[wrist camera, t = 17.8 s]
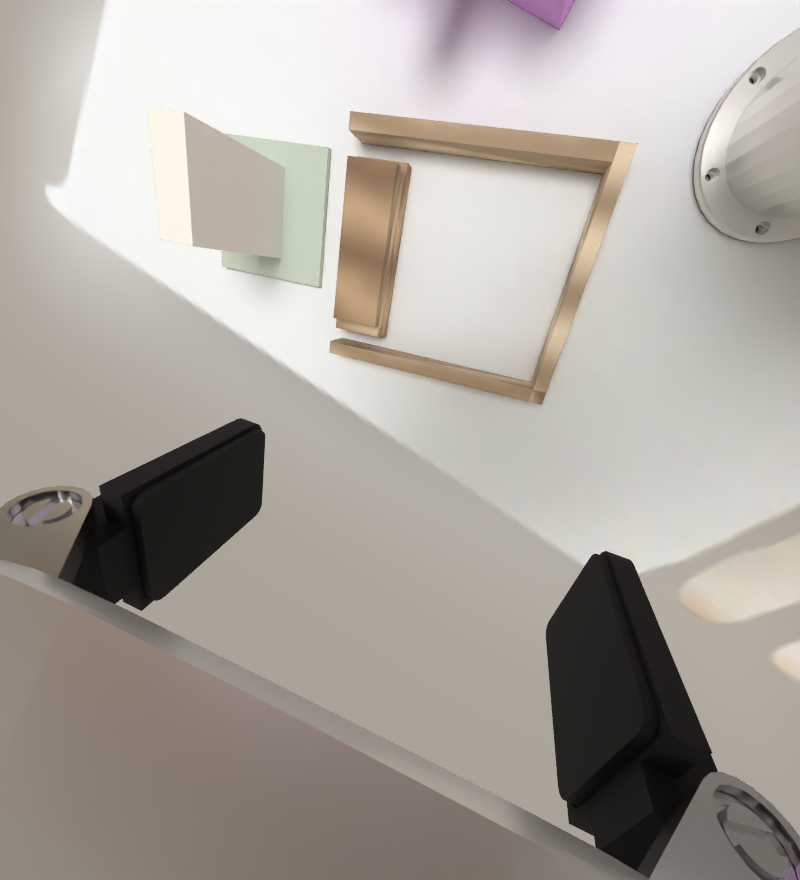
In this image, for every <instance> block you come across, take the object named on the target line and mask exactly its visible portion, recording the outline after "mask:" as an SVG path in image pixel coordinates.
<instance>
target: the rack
mask: <svg viewBox="0 0 800 880" xmlns="http://www.w3.org/2000/svg"><path fill="white" fill-rule="evenodd" d="M349 130H350V131H351V132H352V133H353V134H354V135H355V136H356V138H357V139H358V140H359V141H360V142H361V143H366V144H374V145H382V146H390V147H397V148H405V149H413V150H421V151H429V152H436V153H444V154H452V155H460V156H467V157H475V158H483V159H491V160H499V161H506V162H514V163H522V164H530V165H538V166H545V167H553V168H561V169H569V170H576V171H584V172H592V173H600V174H603V175H602V178H601V181H600V184H599V187H598V190H597V193H596V196H595V199H594V202H593V204H592V207H591V210H590V213H589V216H588V219H587V222H586V225H585V228H584V231H583V234H582V236H581V239H580V242H579V245H578V248H577V251H576V254H575V257H574V260H573V263H572V265H571V268H570V271H569V274H568V277H567V280H566V283H565V286H564V289H563V292H562V294H561V297H560V300H559V303H558V306H557V309H556V312H555V315H554V318H553V321H552V323H551V326H550V329H549V332H548V335H547V338H546V341H545V344H544V347H543V350H542V352H541V355H540V358H539V361H538V364H537V367H536V370H535V373H534V376H533V379H532V381H531V382H527V381H523V380H519V379H515V378H511V377H506V376H502V375H498V374H494V373H489V372H485V371H481V370H477V369H472V368H468V367H464V366H460V365H455V364H451V363H447V362H443V361H438V360H434V359H430V358H426V357H421V356H417V355H413V354H409V353H404V352H400V351H396V350H392V349H387V348H383V347H379V346H375V345H370V344H366V343H362V342H358V341H353V340H349V339H345V338H340V339H337V340H333V341H330V353H333V354H337V355H341V356H345V357H349V358H354V359H358V360H362V361H366V362H370V363H374V364H378V365H382V366H386V367H390V368H394V369H398V370H402V371H407V372H411V373H415V374H419V375H423V376H427V377H431V378H435V379H439V380H443V381H447V382H451V383H455V384H460V385H464V386H468V387H472V388H476V389H480V390H484V391H488V392H492V393H496V394H500V395H504V396H508V397H513V398H517V399H521V400H525V401H529V402H533V403H537V404H541V405H542V402H543V400H544V397H545V394H546V391H547V389H548V386H549V383H550V381H551V378H552V375H553V372H554V370H555V367H556V364H557V362H558V359H559V356H560V353H561V351H562V348H563V345H564V343H565V340H566V337H567V334H568V332H569V329H570V326H571V324H572V321H573V318H574V315H575V313H576V310H577V307H578V304H579V302H580V299H581V296H582V294H583V291H584V288H585V285H586V283H587V280H588V277H589V275H590V272H591V269H592V266H593V264H594V261H595V258H596V256H597V253H598V250H599V247H600V245H601V242H602V239H603V237H604V234H605V231H606V228H607V226H608V223H609V220H610V218H611V215H612V212H613V209H614V207H615V204H616V201H617V199H618V196H619V193H620V190H621V188H622V185H623V182H624V180H625V177H626V174H627V171H628V169H629V166H630V163H631V161H632V158H633V155H634V152H635V150H636V147H637V144H638V143H629V142H620V141H611V140H603V139H594V138H585V137H576V136H567V135H558V134H549V133H540V132H531V131H522V130H513V129H504V128H495V127H487V126H478V125H469V124H460V123H451V122H442V121H433V120H424V119H415V118H406V117H397V116H388V115H379V114H371V113H362V112H353V111H350V121H349Z"/></svg>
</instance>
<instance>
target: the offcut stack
mask: <svg viewBox="0 0 800 880" xmlns="http://www.w3.org/2000/svg"><path fill="white" fill-rule="evenodd" d="M410 174H411V166H410V165H409V164H408V163H403V162H395V161H388V160H381V159H373V158H366V157H359V156H357V157H353V156H348V159H347V171H346V182H345V194H344V205H343V217H342V228H341V239H340V251H339V262H338V274H337V285H336V297H335V308H334V318H337V321H336V328H340V329H345V330H349V331H353V332H358V333H362V334H366V335H371V336H375V337H378V336H380V337H384V336H386V332H387V325H388V318H389V312H390V305H391V299H392V292H393V286H394V279H395V272H396V266H397V259H398V253H399V246H400V239H401V233H402V226H403V220H404V213H405V206H406V200H407V193H408V187H409V180H410Z"/></svg>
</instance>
